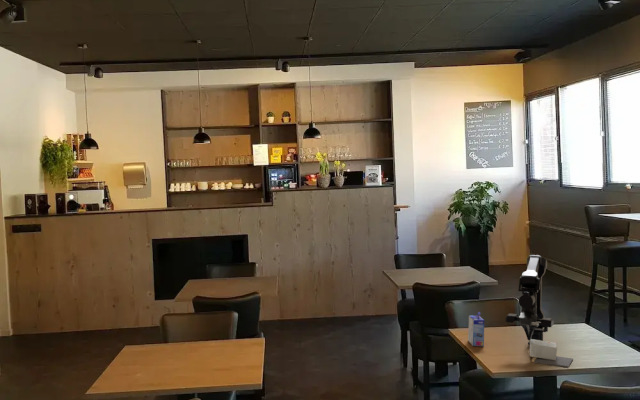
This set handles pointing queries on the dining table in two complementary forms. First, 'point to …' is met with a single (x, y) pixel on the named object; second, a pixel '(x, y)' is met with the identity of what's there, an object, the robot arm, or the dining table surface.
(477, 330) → the ink cartridge box
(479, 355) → the dining table surface
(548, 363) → the mat
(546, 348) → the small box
